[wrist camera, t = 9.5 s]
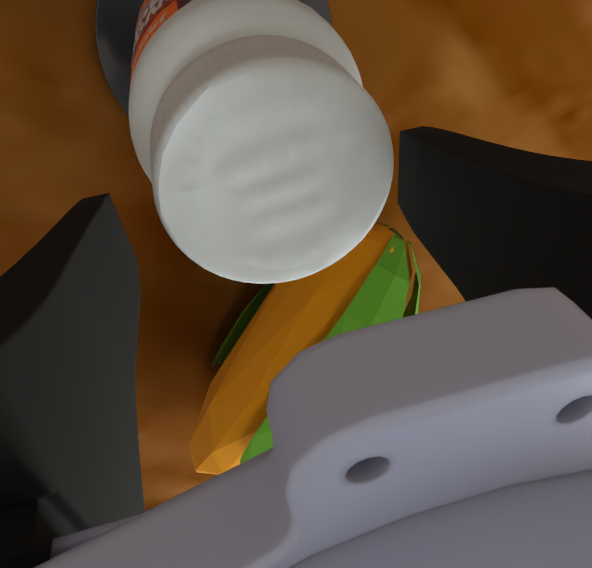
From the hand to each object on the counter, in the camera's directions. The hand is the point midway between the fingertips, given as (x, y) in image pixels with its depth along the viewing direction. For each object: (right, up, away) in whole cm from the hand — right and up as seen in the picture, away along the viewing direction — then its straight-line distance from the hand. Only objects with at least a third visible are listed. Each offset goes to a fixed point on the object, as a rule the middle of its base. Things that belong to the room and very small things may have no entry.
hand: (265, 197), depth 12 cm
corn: (-1, -5, +17) cm, 18 cm away
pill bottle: (-2, +7, +7) cm, 10 cm away
